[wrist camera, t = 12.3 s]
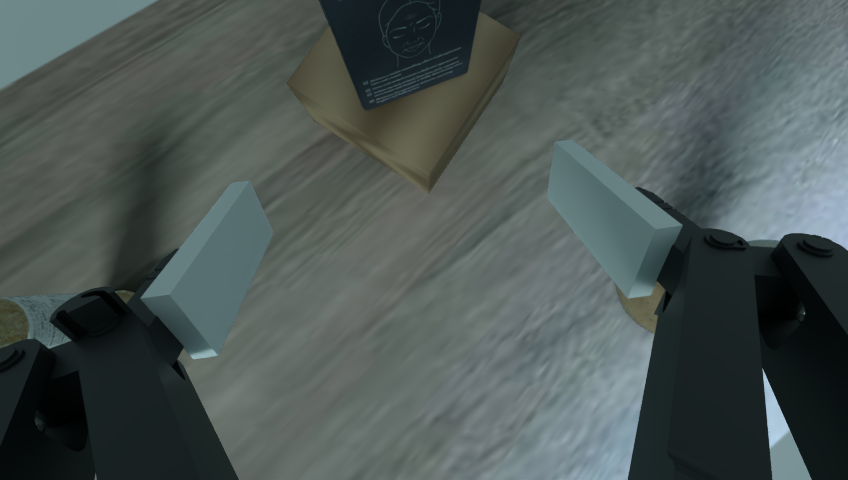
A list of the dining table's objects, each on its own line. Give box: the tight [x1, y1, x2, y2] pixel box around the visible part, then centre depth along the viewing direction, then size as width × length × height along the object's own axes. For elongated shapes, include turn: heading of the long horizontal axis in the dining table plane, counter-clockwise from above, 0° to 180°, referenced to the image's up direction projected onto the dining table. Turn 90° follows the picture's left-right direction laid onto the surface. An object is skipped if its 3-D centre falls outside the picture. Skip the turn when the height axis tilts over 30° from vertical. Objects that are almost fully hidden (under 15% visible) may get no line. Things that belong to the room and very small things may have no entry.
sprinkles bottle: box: [0, 290, 135, 349], centre depth 21 cm, size 5×5×14 cm
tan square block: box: [287, 11, 521, 193], centre depth 27 cm, size 12×12×6 cm
